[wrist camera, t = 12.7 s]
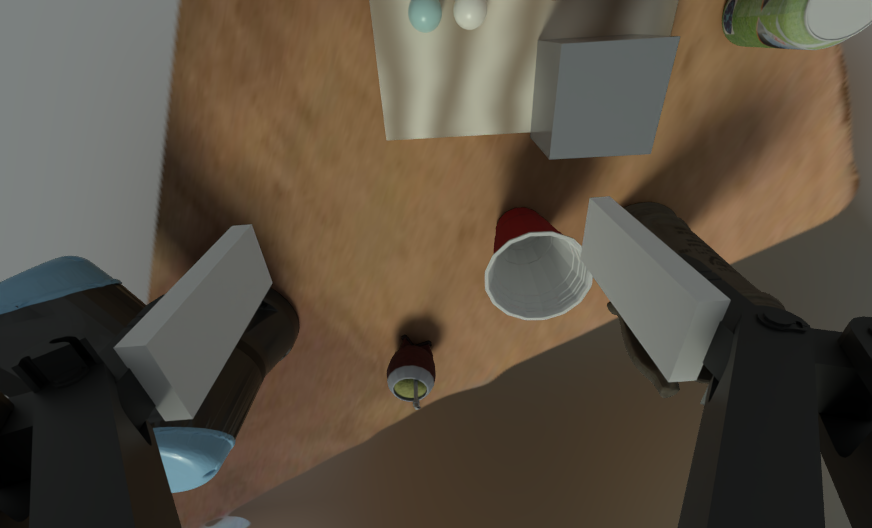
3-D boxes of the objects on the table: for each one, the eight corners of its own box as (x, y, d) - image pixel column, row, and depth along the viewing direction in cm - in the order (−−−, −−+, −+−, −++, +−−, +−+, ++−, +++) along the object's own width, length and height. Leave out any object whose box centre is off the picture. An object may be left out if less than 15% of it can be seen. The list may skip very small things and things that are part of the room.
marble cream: (453, 30, 35) (454, 31, 33) (452, -9, 34) (453, -12, 31) (485, 28, 35) (489, 28, 33) (485, -11, 34) (489, -14, 31)
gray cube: (530, 136, 41) (549, 159, 34) (537, 40, 36) (561, 43, 29) (614, 132, 40) (650, 153, 34) (633, 34, 35) (680, 36, 29)
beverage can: (770, 43, 37) (896, 51, 27) (694, 48, 37) (791, 58, 27) (799, -38, 34) (956, -64, 24) (715, -32, 34) (835, -55, 24)
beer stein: (609, 191, 45) (704, 305, 29) (695, 198, 46) (835, 314, 30) (571, 289, 54) (627, 416, 38) (643, 294, 55) (729, 421, 39)
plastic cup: (482, 182, 45) (496, 228, 34) (571, 191, 45) (610, 239, 35) (468, 259, 50) (476, 318, 40) (546, 266, 51) (574, 326, 41)
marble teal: (410, 33, 35) (408, 34, 33) (407, -6, 34) (405, -8, 31) (442, 31, 35) (443, 32, 33) (440, -8, 34) (441, -11, 31)
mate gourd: (404, 368, 62) (396, 457, 49) (379, 337, 58) (364, 424, 45) (445, 354, 60) (448, 443, 47) (422, 321, 56) (419, 407, 44)
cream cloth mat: (387, 137, 42) (386, 140, 41) (357, -111, 31) (355, -116, 30) (643, 122, 41) (648, 125, 40) (703, -137, 30) (712, -143, 29)
